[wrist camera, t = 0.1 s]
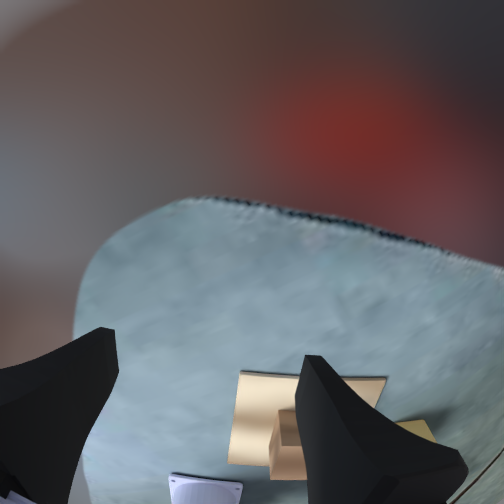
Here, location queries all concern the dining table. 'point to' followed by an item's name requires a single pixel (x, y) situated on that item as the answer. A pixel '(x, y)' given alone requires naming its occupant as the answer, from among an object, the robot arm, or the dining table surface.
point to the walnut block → (286, 449)
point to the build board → (273, 411)
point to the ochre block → (418, 429)
